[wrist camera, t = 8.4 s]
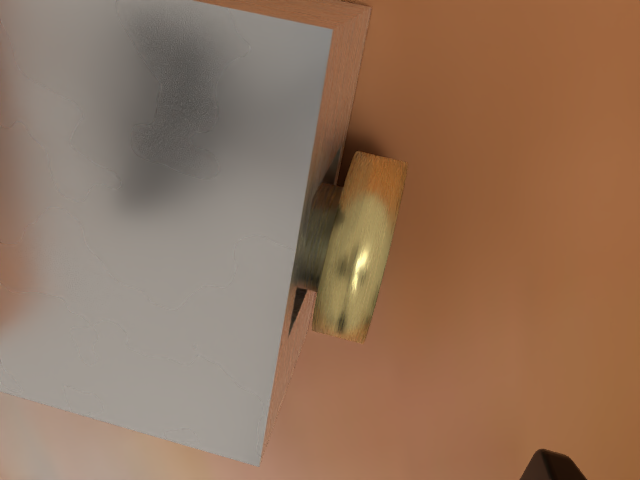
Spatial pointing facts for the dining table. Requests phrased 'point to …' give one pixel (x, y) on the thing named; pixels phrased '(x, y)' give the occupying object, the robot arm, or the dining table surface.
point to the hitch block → (166, 204)
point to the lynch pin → (351, 244)
